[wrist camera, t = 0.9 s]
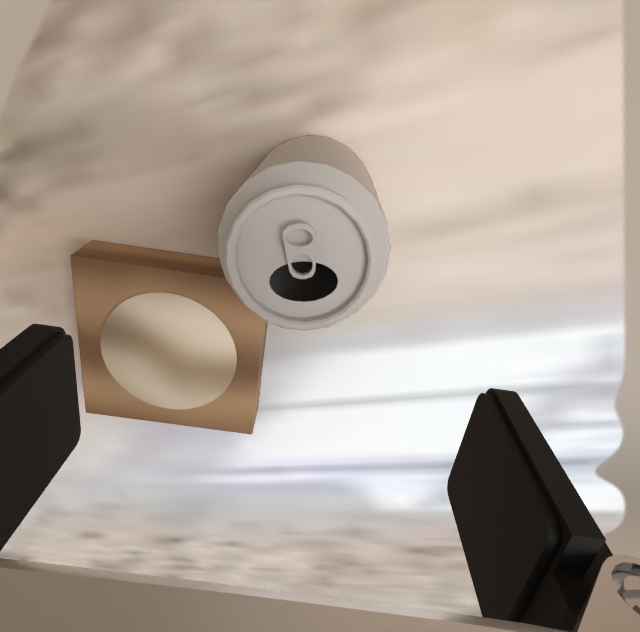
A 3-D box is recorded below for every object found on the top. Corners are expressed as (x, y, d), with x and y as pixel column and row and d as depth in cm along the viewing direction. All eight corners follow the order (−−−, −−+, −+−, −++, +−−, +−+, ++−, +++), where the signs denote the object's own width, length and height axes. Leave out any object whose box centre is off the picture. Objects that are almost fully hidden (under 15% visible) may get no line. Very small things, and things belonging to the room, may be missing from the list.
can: (259, 256, 31) (221, 348, 21) (246, 136, 28) (193, 173, 17) (372, 252, 31) (393, 343, 20) (373, 130, 28) (398, 164, 17)
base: (93, 240, 31) (69, 256, 28) (273, 266, 32) (267, 285, 29) (104, 387, 37) (84, 414, 34) (257, 408, 37) (251, 436, 34)
